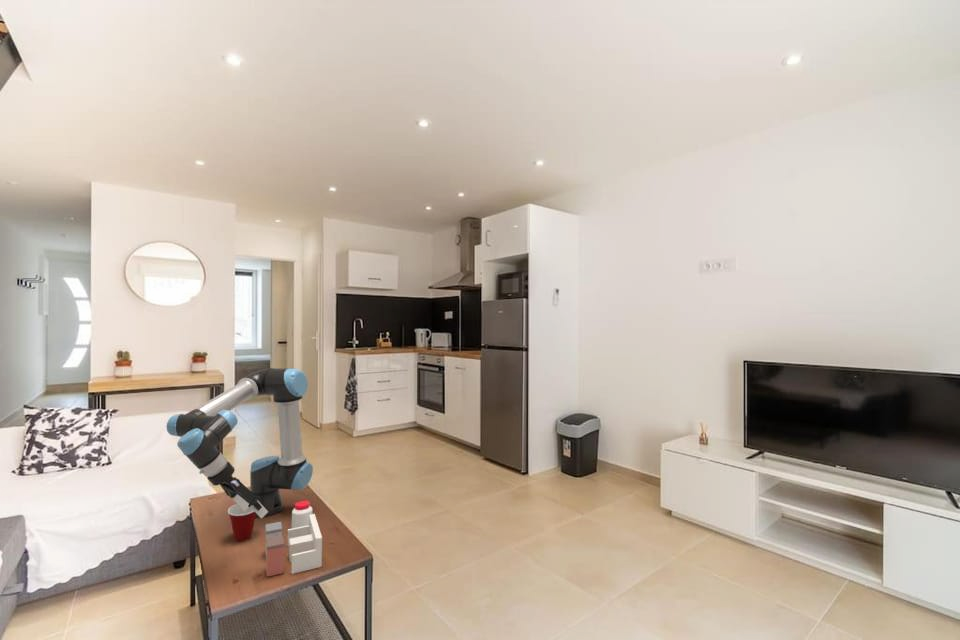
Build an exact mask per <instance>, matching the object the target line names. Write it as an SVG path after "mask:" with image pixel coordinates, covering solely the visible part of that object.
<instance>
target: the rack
mask: <svg viewBox="0 0 960 640" xmlns="http://www.w3.org/2000/svg"><path fill="white" fill-rule="evenodd" d="M287 547H288V558H289V559H288V560H289V563H291V574H292V575H294V574H298V573H301V572H305V571H310V570H314V569H318V568H322V567H323V561H322V560H323V536H322V533H321V530H320V527H319V523H318V521H317V517H316V514H315V513H312V514H311V515H309V525H308V526H302V527H297V528H292V527H291V528H288V529H287Z"/></svg>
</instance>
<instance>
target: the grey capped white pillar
mask: <svg viewBox="0 0 960 640" xmlns="http://www.w3.org/2000/svg"><path fill="white" fill-rule="evenodd" d="M282 532H283V525H282V521H276V522H271V523H266V524H265V540H266V539H268V538H273V537H278V536H283V535H282V534H283V533H282ZM266 550H267V546H266V545H265V552H264V553H266Z"/></svg>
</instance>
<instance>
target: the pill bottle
mask: <svg viewBox="0 0 960 640" xmlns="http://www.w3.org/2000/svg"><path fill="white" fill-rule="evenodd" d="M311 514H313V507H312V506H311V505H310V501H309V500H302V501H301V500H300V501H297V502H296V503H294V508H293V509H292V510H291V529H292V528H297V527H302V526H308V525H309V515H311Z"/></svg>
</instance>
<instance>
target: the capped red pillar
mask: <svg viewBox="0 0 960 640" xmlns="http://www.w3.org/2000/svg"><path fill="white" fill-rule="evenodd" d="M284 539H285V538H284V535H282V536H278V537H273V538H268V539H266V538H265V547H266V546H267V550H266V552H265V560H266V561H265V563H266V564H265V566H266V567H265V569H266V570H265V571H266V578H267V577H273V576H277V575H280V574H284V560H285V559H284V556H285V555H284V552H285V551H284V548H285V542H284V541H285V540H284Z"/></svg>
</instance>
